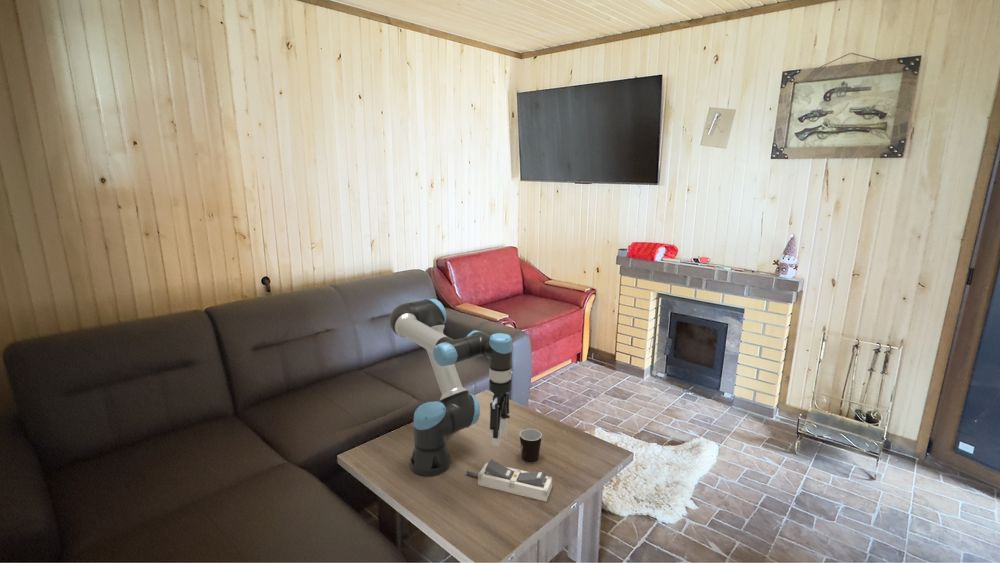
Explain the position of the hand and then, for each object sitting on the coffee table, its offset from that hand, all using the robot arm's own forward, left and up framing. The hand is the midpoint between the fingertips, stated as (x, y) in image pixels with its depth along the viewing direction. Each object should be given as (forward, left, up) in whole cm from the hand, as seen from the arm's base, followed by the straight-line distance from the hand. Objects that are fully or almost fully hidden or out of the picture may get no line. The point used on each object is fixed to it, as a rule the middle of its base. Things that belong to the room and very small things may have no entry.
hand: (499, 439), depth 165 cm
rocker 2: (+12, 0, -12) cm, 17 cm away
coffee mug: (+6, +20, -17) cm, 27 cm away
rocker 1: (0, 0, -12) cm, 12 cm away
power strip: (+3, 0, -17) cm, 17 cm away
